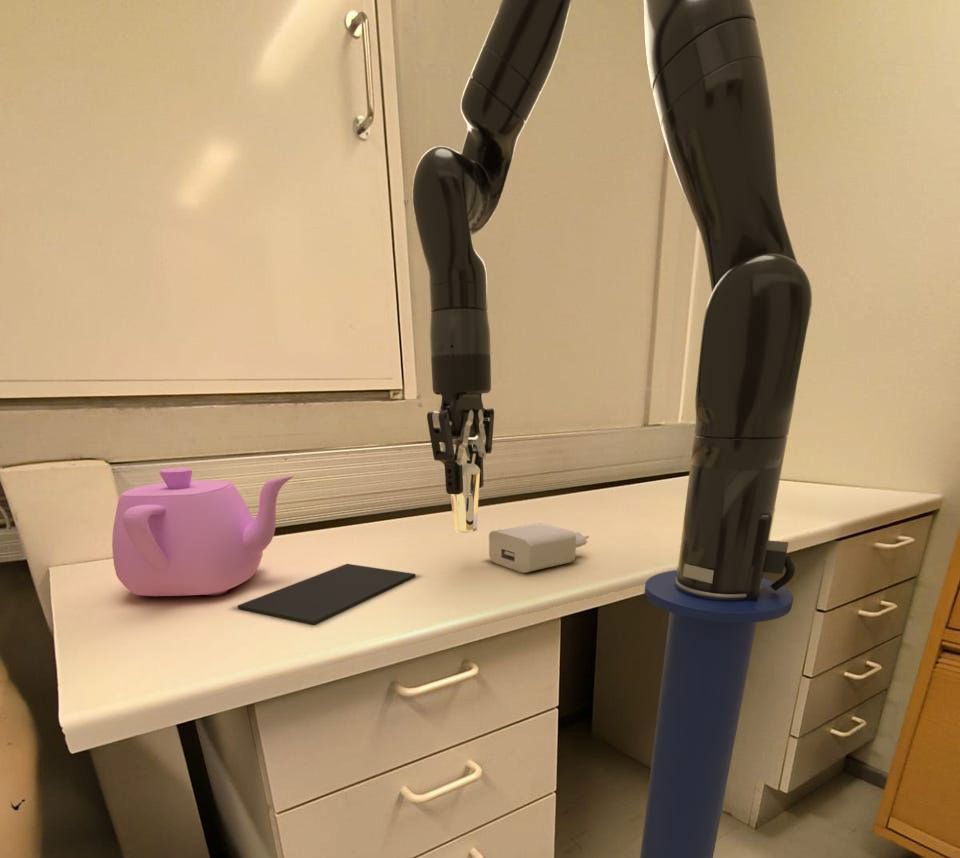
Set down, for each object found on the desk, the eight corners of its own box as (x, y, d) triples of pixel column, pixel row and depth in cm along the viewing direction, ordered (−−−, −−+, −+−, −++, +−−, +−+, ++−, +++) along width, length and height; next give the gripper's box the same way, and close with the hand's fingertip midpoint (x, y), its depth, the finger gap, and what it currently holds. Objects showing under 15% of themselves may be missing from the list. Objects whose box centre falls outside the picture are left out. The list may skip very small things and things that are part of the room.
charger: (604, 557, 88) (528, 575, 80) (563, 545, 95) (488, 560, 87) (607, 526, 86) (529, 541, 78) (564, 516, 93) (488, 529, 85)
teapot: (81, 618, 67) (40, 484, 61) (168, 567, 86) (143, 461, 80) (280, 614, 67) (259, 480, 61) (322, 564, 87) (309, 458, 81)
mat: (415, 576, 80) (415, 573, 80) (314, 624, 64) (313, 621, 64) (347, 566, 85) (347, 563, 85) (237, 608, 69) (237, 605, 69)
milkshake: (490, 527, 83) (489, 454, 79) (470, 535, 79) (468, 457, 75) (463, 524, 85) (460, 453, 81) (443, 532, 81) (439, 457, 77)
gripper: (457, 348, 66) (463, 500, 72) (511, 354, 77) (512, 484, 84) (403, 352, 69) (413, 497, 76) (462, 357, 81) (467, 482, 87)
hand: (465, 490), depth 80 cm, fingers closed on milkshake, 5 cm apart
